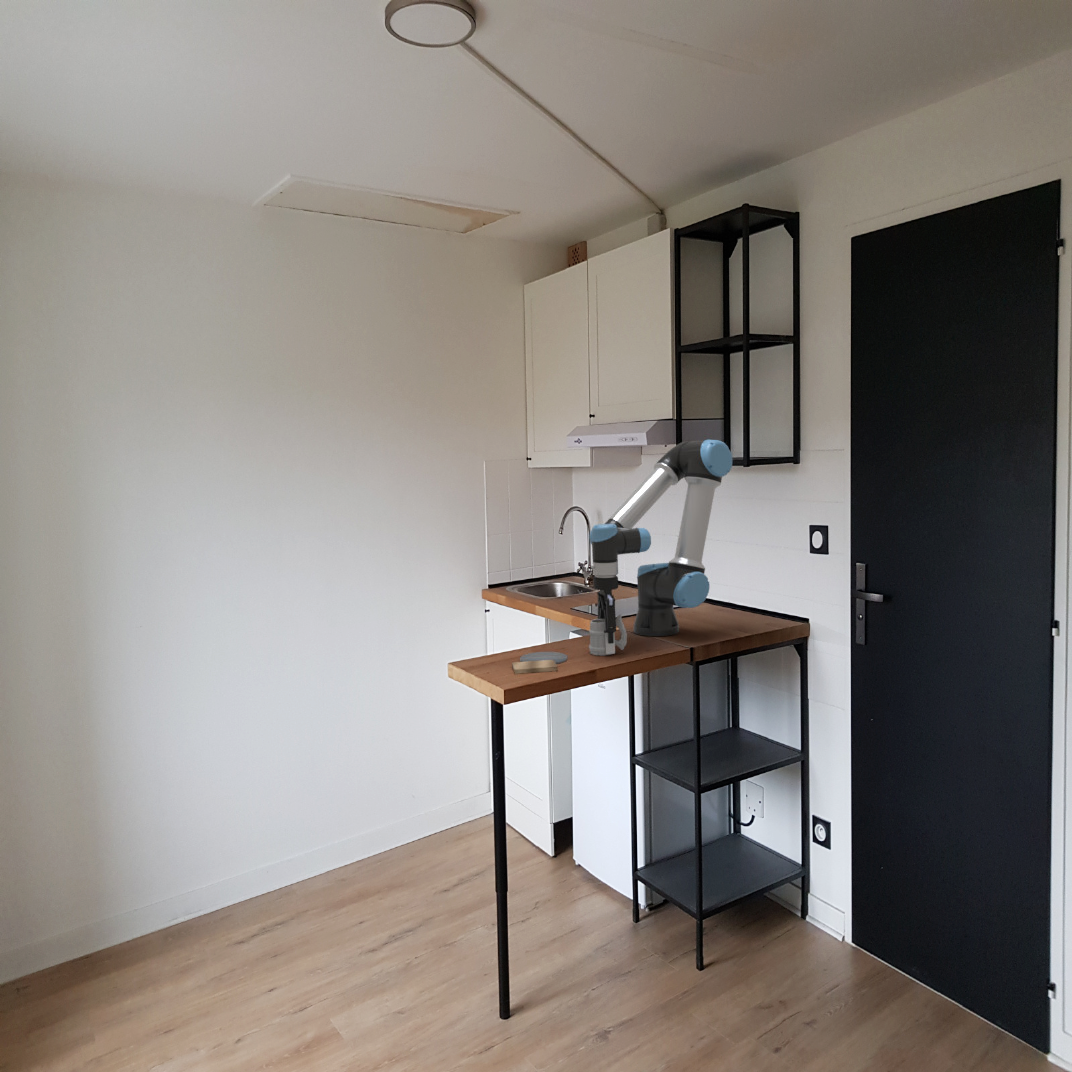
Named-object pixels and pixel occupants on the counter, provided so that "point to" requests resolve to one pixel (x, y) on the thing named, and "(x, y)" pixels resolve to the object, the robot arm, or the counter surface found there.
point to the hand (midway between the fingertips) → (607, 650)
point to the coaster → (544, 657)
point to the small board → (534, 666)
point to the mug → (599, 636)
